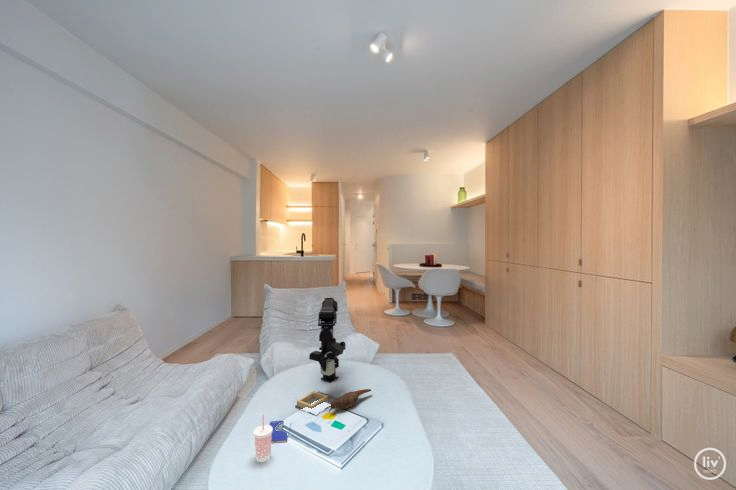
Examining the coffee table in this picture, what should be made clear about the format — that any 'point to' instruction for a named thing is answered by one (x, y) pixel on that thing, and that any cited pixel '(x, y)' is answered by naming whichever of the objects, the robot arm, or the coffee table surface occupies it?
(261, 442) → the beverage cup
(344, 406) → the bird sculpture
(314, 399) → the socket dock
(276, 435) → the hard drive
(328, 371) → the block
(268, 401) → the coffee table surface
